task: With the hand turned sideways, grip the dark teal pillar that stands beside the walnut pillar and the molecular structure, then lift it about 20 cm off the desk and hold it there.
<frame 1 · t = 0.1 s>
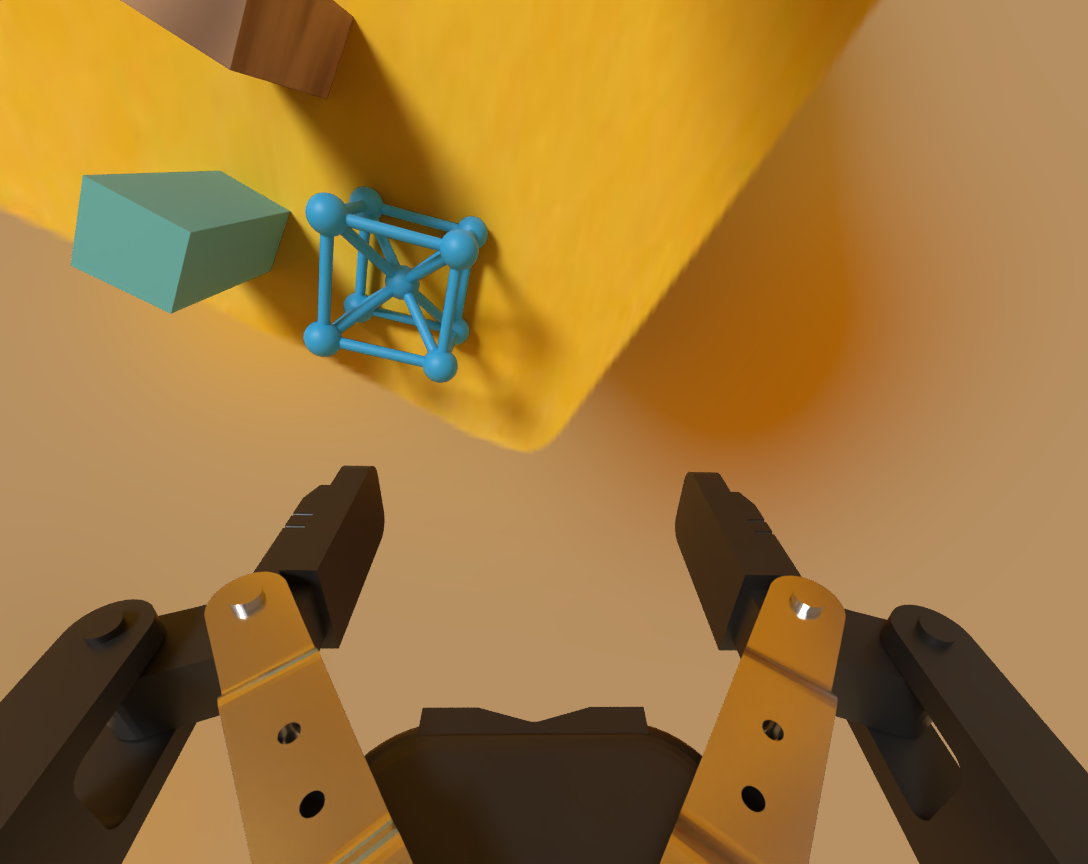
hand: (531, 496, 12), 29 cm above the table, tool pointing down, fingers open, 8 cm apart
walnut pillar: (301, 33, 30), on the table
teal pillar: (246, 223, 36), on the table
molecular structure: (417, 268, 38), on the table
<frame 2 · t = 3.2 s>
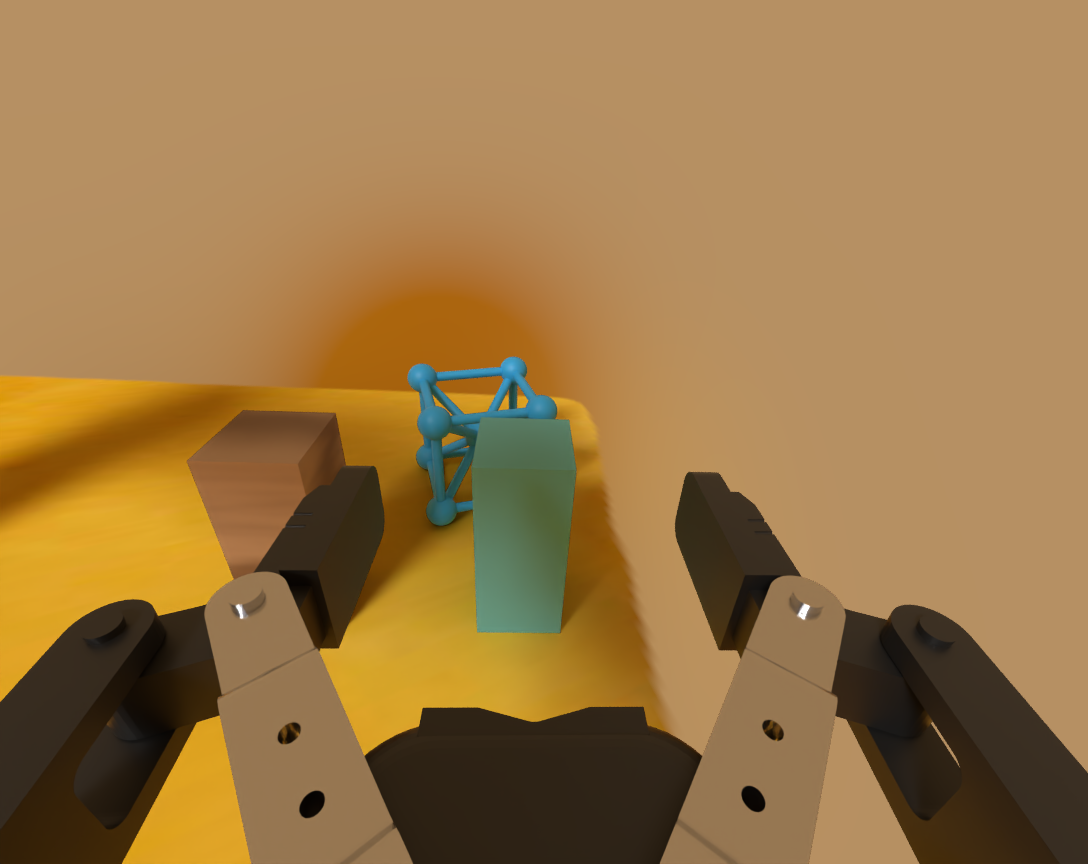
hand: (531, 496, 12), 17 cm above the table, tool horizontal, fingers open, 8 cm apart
walnut pillar: (314, 596, 30), on the table
teal pillar: (519, 599, 31), on the table
molecular structure: (480, 487, 41), on the table
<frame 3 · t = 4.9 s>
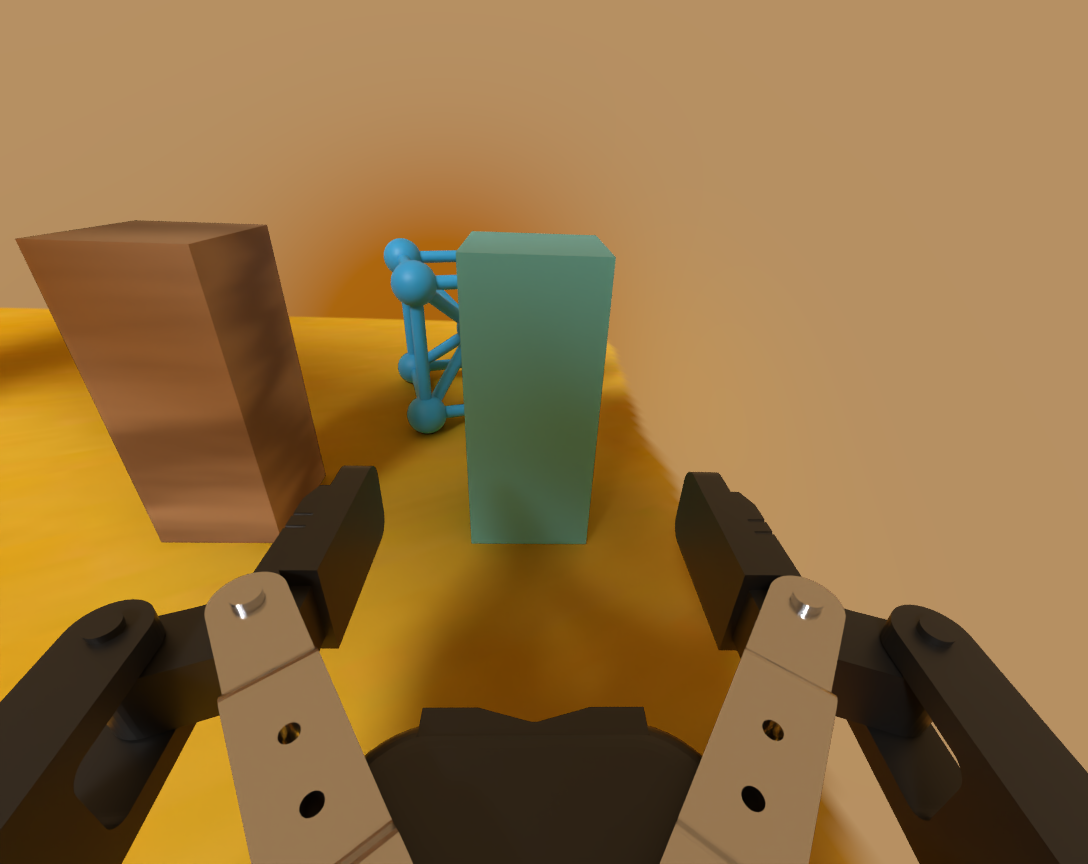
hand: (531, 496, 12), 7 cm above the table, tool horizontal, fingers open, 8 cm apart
walnut pillar: (251, 505, 22), on the table
teal pillar: (528, 507, 23), on the table
molecular structure: (477, 400, 33), on the table
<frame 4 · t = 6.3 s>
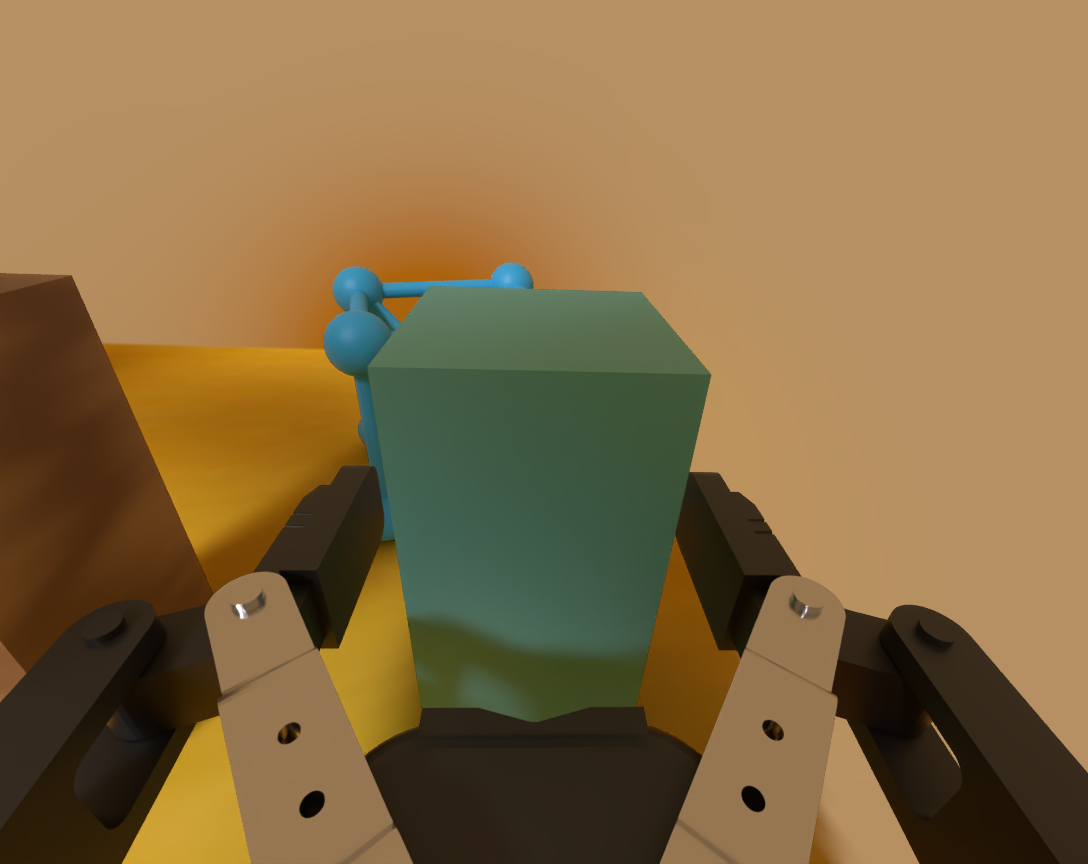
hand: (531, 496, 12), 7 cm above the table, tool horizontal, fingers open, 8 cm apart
walnut pillar: (98, 696, 14), on the table
teal pillar: (527, 693, 15), on the table
molecular structure: (461, 476, 26), on the table
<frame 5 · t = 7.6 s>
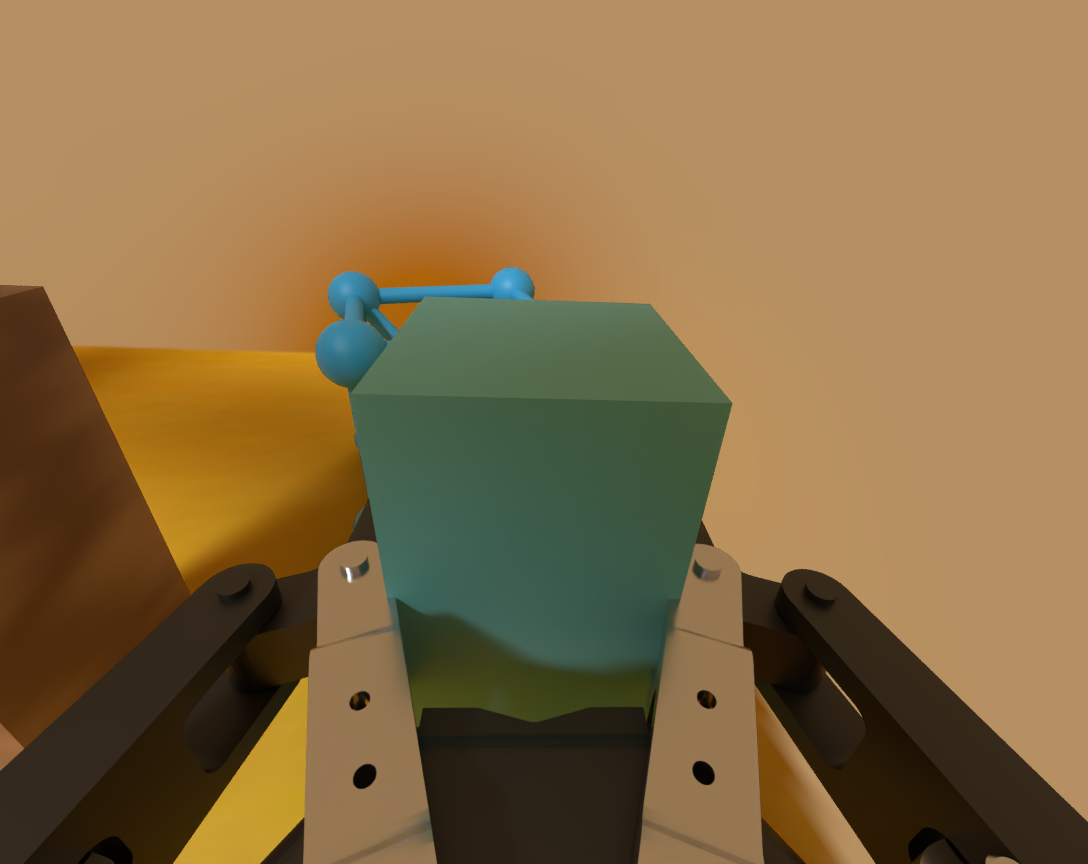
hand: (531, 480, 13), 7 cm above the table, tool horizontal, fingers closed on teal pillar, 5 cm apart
walnut pillar: (78, 724, 14), on the table
teal pillar: (526, 721, 14), on the table, touching gripper
molecular structure: (460, 486, 25), on the table
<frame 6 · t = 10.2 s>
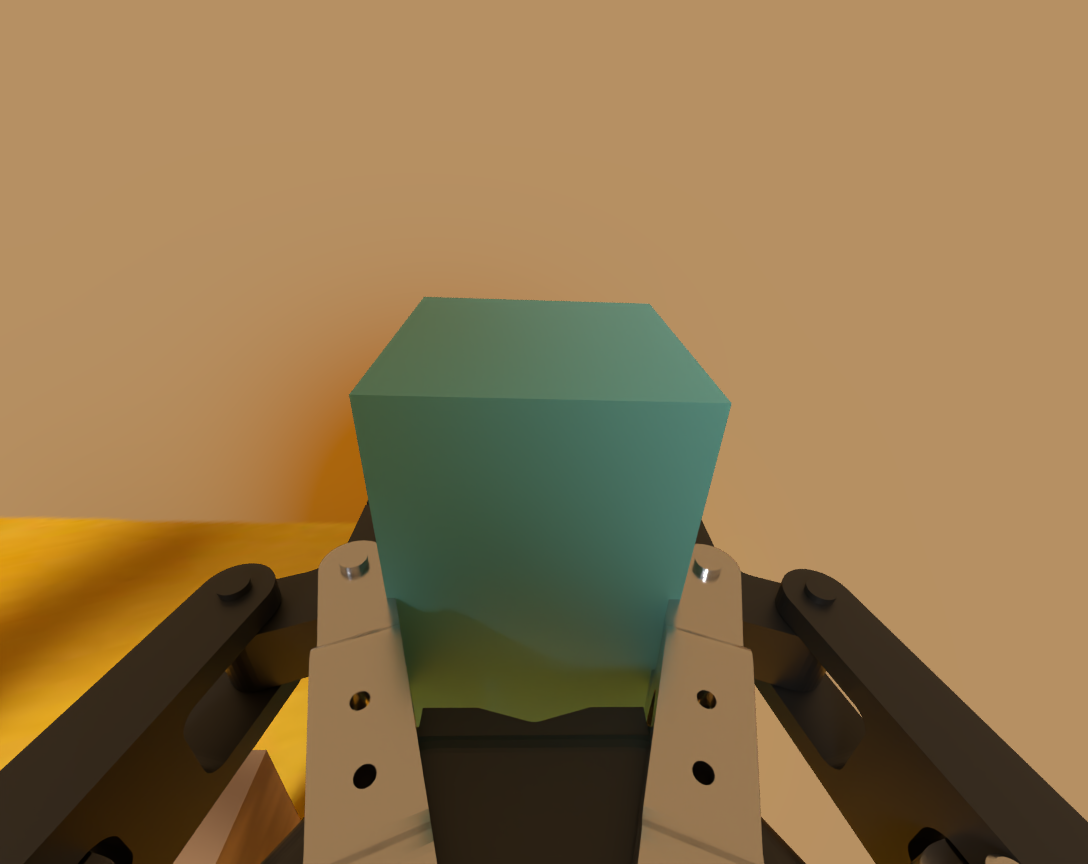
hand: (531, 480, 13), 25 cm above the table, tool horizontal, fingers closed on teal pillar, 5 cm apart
teal pillar: (526, 721, 14), point 18 cm above the table, touching gripper
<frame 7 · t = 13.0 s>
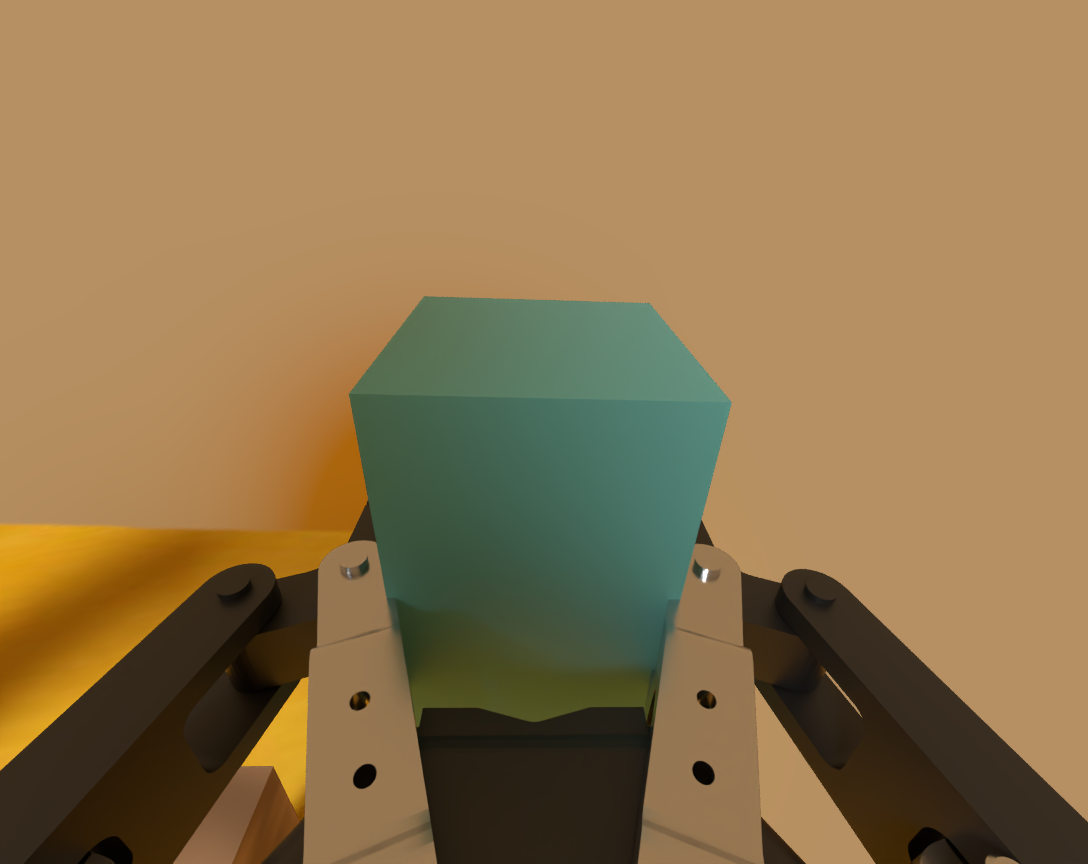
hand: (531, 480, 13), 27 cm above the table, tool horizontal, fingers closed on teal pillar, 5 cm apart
teal pillar: (526, 721, 14), point 20 cm above the table, touching gripper
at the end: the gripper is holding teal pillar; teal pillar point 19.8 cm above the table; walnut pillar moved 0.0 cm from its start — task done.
